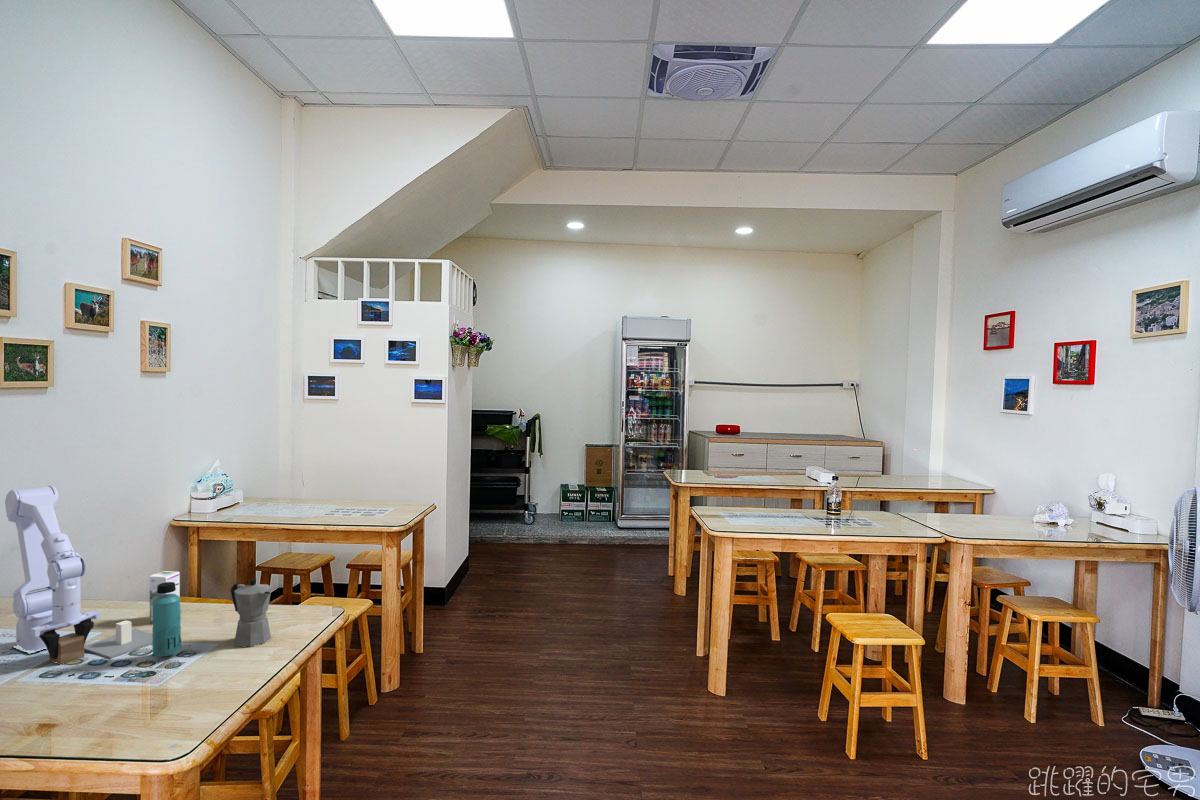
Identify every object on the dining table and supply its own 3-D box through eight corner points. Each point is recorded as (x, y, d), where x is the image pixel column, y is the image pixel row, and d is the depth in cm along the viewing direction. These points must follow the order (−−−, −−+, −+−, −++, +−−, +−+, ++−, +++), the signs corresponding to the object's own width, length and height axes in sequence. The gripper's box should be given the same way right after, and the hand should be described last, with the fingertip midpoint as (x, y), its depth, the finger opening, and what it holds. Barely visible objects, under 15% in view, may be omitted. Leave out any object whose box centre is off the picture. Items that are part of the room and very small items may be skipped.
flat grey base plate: (80, 648, 171) (80, 627, 171) (135, 630, 184) (135, 610, 183) (110, 658, 165) (110, 636, 165) (165, 639, 178) (165, 618, 178)
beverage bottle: (166, 663, 163) (166, 588, 162) (145, 660, 164) (145, 586, 164) (187, 653, 169) (187, 580, 169) (167, 650, 171) (166, 578, 170)
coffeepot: (283, 638, 180) (283, 577, 179) (254, 651, 171) (254, 587, 170) (246, 629, 186) (246, 570, 185) (216, 641, 177) (216, 579, 177)
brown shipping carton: (49, 660, 163) (49, 639, 163) (72, 653, 168) (72, 632, 168) (60, 664, 161) (60, 643, 161) (84, 656, 166) (83, 636, 166)
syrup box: (180, 616, 195) (180, 570, 194) (165, 623, 189) (165, 576, 189) (163, 615, 195) (163, 569, 195) (148, 622, 190) (148, 575, 189)
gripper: (41, 614, 156) (41, 668, 156) (106, 596, 169) (106, 646, 170) (26, 610, 159) (26, 662, 159) (91, 592, 172) (91, 641, 172)
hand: (66, 653), depth 165 cm, fingers closed on brown shipping carton, 5 cm apart
